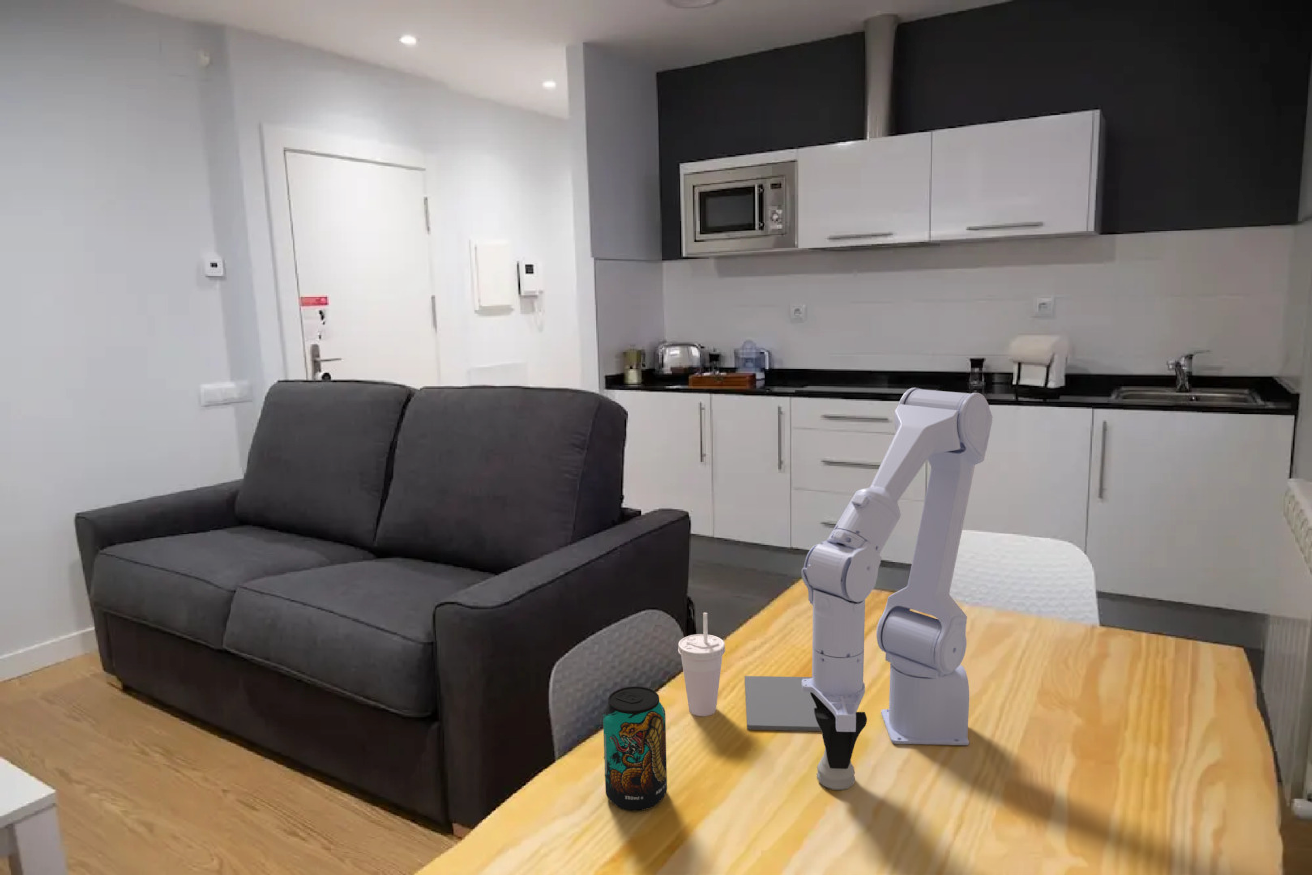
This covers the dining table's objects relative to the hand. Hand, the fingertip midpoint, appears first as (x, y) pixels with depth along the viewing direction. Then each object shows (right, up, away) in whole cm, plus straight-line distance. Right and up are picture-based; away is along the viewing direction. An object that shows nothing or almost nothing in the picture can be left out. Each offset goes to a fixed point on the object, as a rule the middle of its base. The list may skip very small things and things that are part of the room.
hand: (836, 756), depth 96 cm
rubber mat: (-1, 0, +18) cm, 18 cm away
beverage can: (-23, -4, -1) cm, 24 cm away
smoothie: (-15, 0, +18) cm, 23 cm away
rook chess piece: (0, -3, +1) cm, 3 cm away
